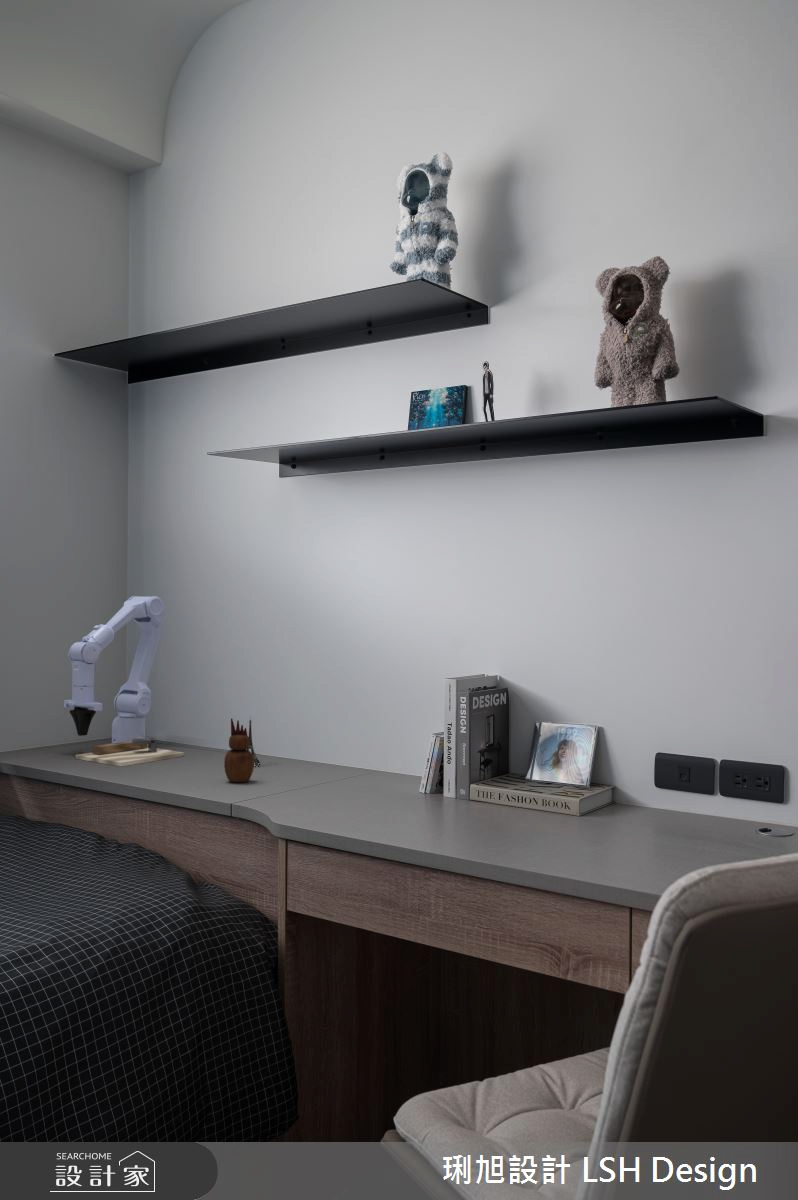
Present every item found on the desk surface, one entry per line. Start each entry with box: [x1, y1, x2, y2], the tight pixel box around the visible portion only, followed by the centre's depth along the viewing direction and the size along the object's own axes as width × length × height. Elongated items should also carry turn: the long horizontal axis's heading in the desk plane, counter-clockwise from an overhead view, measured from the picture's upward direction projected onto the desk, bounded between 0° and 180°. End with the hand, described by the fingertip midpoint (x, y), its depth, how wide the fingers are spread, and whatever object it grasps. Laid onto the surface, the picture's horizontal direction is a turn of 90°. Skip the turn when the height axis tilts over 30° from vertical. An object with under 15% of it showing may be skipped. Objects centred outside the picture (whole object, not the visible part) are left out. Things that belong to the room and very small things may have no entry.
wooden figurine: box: [223, 718, 255, 783], centre depth 228 cm, size 7×6×15 cm
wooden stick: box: [92, 737, 148, 755], centre depth 265 cm, size 16×3×3 cm, turn 144°
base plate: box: [75, 747, 185, 767], centre depth 261 cm, size 19×21×1 cm
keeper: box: [132, 737, 158, 753], centre depth 264 cm, size 4×6×3 cm, turn 114°
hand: (82, 735), depth 264 cm, fingers closed
